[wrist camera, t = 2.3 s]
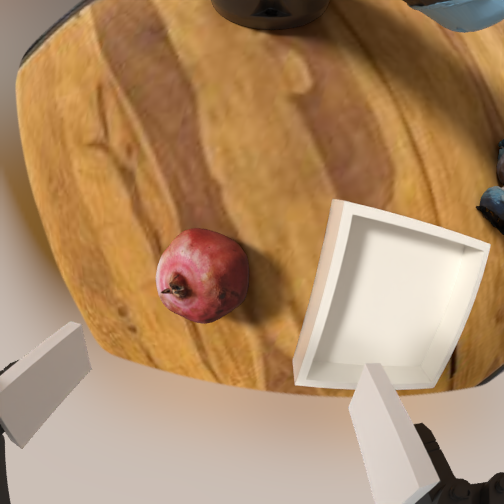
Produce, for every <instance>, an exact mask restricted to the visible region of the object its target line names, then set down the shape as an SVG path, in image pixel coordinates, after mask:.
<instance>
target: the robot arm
mask: <svg viewBox="0 0 504 504" xmlns="http://www.w3.org/2000/svg"><path fill="white" fill-rule="evenodd" d="M329 1H330V0H211V2H212V5H213V7H214V8H215V10H216V11H217V12H218V13H219V14H220V15H221V16H223V17H224V18H226V19H228V20H229V21H232V22H234V23H236V24H239V25H242V26H246V27H251V28H257V29H269V30H276V29H288V28H294V27H298V26H302V25H304V24H307V23H310V22H312V21H314V20H315V19H317V18H318V17H320V16H321V15H322V14H323V13H324V12H325V10H326V9H327V7H328V4H329ZM403 1H405V2H406V3H407V5H408V6H409V7H411V8H412V9H415V10H419V11H420V12H422V13H424V14H425V15H427V16H428V17H430V18H431V19H433V20H434V21H436V22H437V23H439V24H440V25H441V26H443V27H445V28H447V29H449V30H452V31H455V32H464V33H465V32H474V31H478V30H482V29H485V28H487V27H490V26H492V25H494V24H496V23H498V22H500V21H502V20H503V19H504V0H403ZM91 369H92V368H91V365H90V361H89V357H88V352H87V348H86V344H85V339H84V334H83V329H82V325H81V324H78V323H75V322H72V321H70V322H69V323H67V324H66V325H64V326H63V327H62V328H60V329H59V330H58V331H57V332H55V333H54V334H52V335H51V336H50V337H48V338H47V339H46V340H45V341H43V342H42V343H41V344H39V345H38V346H37V347H35V348H34V349H33V350H32V351H30V352H29V353H28V354H26V355H25V356H24V357H23V358H21V359H20V360H17V361H15V362H13V363H10V364H9V365H8V366H7V367H5V368H4V370H2V371H0V504H11V503H10V498H9V491H8V484H7V476H6V462H5V440H4V436H3V435H2V434H3V433H4V432H6V434H7V435H8V437H9V438H10V440H11V441H12V442H14V443H15V444H16V445H17V446H19V447H20V448H21V449H23V448H24V446H25V445H26V444H27V443H28V441H29V440H30V439H31V438H32V437H33V435H34V434H35V433H36V432H37V431H38V429H39V428H40V427H41V426H42V425H43V423H44V422H45V421H46V420H47V419H48V418H49V416H50V415H51V414H52V413H53V412H54V411H55V410H56V408H57V407H58V406H59V405H60V404H61V403H62V401H63V400H64V399H65V398H66V397H67V396H68V395H69V394H70V392H71V391H72V390H73V389H74V388H75V387H76V386H77V385H78V384H79V383H80V381H81V380H82V379H83V378H84V377H85V376H86V375H87V374H88V372H90V370H91ZM348 408H349V412H350V415H351V418H352V422H353V425H354V428H355V432H356V435H357V439H358V442H359V446H360V449H361V453H362V456H363V460H364V464H365V468H366V471H367V475H368V479H369V483H370V486H371V491H372V495H373V499H374V503H375V504H504V473H503V472H500V473H497V474H495V475H494V476H493V477H492V478H491V479H490V480H489V481H488V482H484V483H477V484H470V483H468V481H466V480H464V479H457V478H455V476H454V475H453V473H452V471H451V469H450V466H449V464H448V462H447V460H446V458H445V457H444V454H443V453H442V451H441V450H440V447H439V445H438V443H437V442H436V439H435V437H434V435H433V434H432V432H431V430H430V429H428V428H427V427H426V426H425V425H424V424H423V423H420V424H414V425H413V423H412V421H411V419H410V417H409V415H408V413H407V411H406V409H405V407H404V405H403V403H402V402H401V400H400V398H399V396H398V394H397V392H396V390H395V389H394V387H393V385H392V383H391V381H390V379H389V378H388V376H387V374H386V372H385V370H384V369H383V367H382V365H381V363H365V365H364V368H363V371H362V374H361V376H360V379H359V382H358V385H357V387H356V390H355V392H354V395H353V397H352V400H351V403H350V405H349V407H348Z"/></svg>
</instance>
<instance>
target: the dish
mask: <svg viewBox="0 0 504 504" xmlns="http://www.w3.org/2000/svg"><path fill="white" fill-rule="evenodd" d="M490 245H491V244H488V243H486V242H483V241H480V240H477V239H475V238H472V237H469V236H466V235H463V234H460V233H457V232H454V231H451V230H448V229H445V228H442V227H439V226H435V225H432V224H429V223H426V222H422V221H419V220H415V219H412V218H409V217H405V216H401V215H398V214H394V213H391V212H387V211H383V210H379V209H375V208H371V207H367V206H363V205H359V204H355V203H351V202H347V201H342V200H336V199H332V203H331V208H330V213H329V218H328V223H327V228H326V233H325V238H324V242H323V247H322V251H321V256H320V260H319V264H318V268H317V273H316V277H315V281H314V285H313V289H312V293H311V297H310V300H309V304H308V308H307V312H306V315H305V319H304V323H303V326H302V330H301V333H300V337H299V340H298V344H297V347H296V350H295V354H294V357H293V370H294V380H295V385H299V386H309V387H321V388H335V389H356V387H357V385H358V382H359V379H360V376H361V374H362V371H363V368H364V365H365V363H381V365H382V367H383V369H384V370H385V372H386V374H387V376H388V378H389V379H390V381H391V383H392V385H393V387H394V389H395V390H406V389H426V388H434V386H435V385H436V383H437V381H438V379H439V378H440V376H441V374H442V372H443V370H444V368H445V367H446V365H447V363H448V361H449V359H450V357H451V355H452V353H453V351H454V349H455V347H456V344H457V342H458V340H459V338H460V336H461V333H462V331H463V329H464V326H465V324H466V321H467V319H468V316H469V314H470V311H471V309H472V306H473V303H474V300H475V298H476V295H477V292H478V289H479V286H480V282H481V279H482V276H483V272H484V269H485V265H486V262H487V258H488V254H489V250H490Z"/></svg>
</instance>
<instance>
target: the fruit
mask: <svg viewBox="0 0 504 504" xmlns="http://www.w3.org/2000/svg"><path fill="white" fill-rule="evenodd" d="M156 284H157V290H158V294H159V296H160V299H161V301H162V302H163V304H164V305H165V306H166V307H167V308H168V309H169V310H170V311H172V312H174V313H176V314H178V315H180V316H183V317H185V318H186V319H189V320H191V321H193V322H197V323H204V324H205V323H211V322H214V321H216V320H218V319H220V318H221V317H223V316H225V315H226V314H228V313H230V312H231V311H232V310H234V309H235V308H236V307H238V306H239V305H240V304H241V303H242V302H243V301H244V300H245V298H246V295H247V291H248V287H249V263H248V258H247V255H246V254H245V252H244V251H243V249H242V248H241V247H240V245H239V244H238V243H237V242H235V241H234V240H232V239H230V238H228V237H226V236H224V235H222V234H220V233H217V232H214V231H210V230H207V229H200V228H194V229H189V230H185V231H183V232H182V233H181V234H179V235H178V236H177V237H176V238H175V239H174V240H173V242H172V243H171V244H170V246H169V247H168V248H167V249H166V250H165V251H164V253H163V254H162V256H161V258H160V261H159V263H158V267H157V273H156Z"/></svg>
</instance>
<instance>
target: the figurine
mask: <svg viewBox="0 0 504 504" xmlns="http://www.w3.org/2000/svg"><path fill="white" fill-rule="evenodd" d="M498 146H499V147H500V148H501V149H500V150H499V155H498V164H497V175H498V177H499V181H500V182H501V183H502V184H503V186H504V139H503V140H502V141H500V142H499V144H498ZM486 207H487V208H488V210H489V211H492V212H493V213H494V217H493V216H492V215H491V213H490V212H489V211H488V212H486ZM476 208H477V209H478V210H480V211H481V212H482V213H483V214H484V215H485V218H486V219H488V220H489V221H491V224H492V225H493V226H494V227H496V228H497V229H498V230H499V231H500V232H501V233H502V234H503V235H504V187H502V188H501V187H499V186H494V187H491V188H488V189H487V191H485V193H484V194H483V196H482V197H481V201H480V206H476ZM484 215H483V217H484ZM498 218H499V221H498V222H497V220H498Z"/></svg>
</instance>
